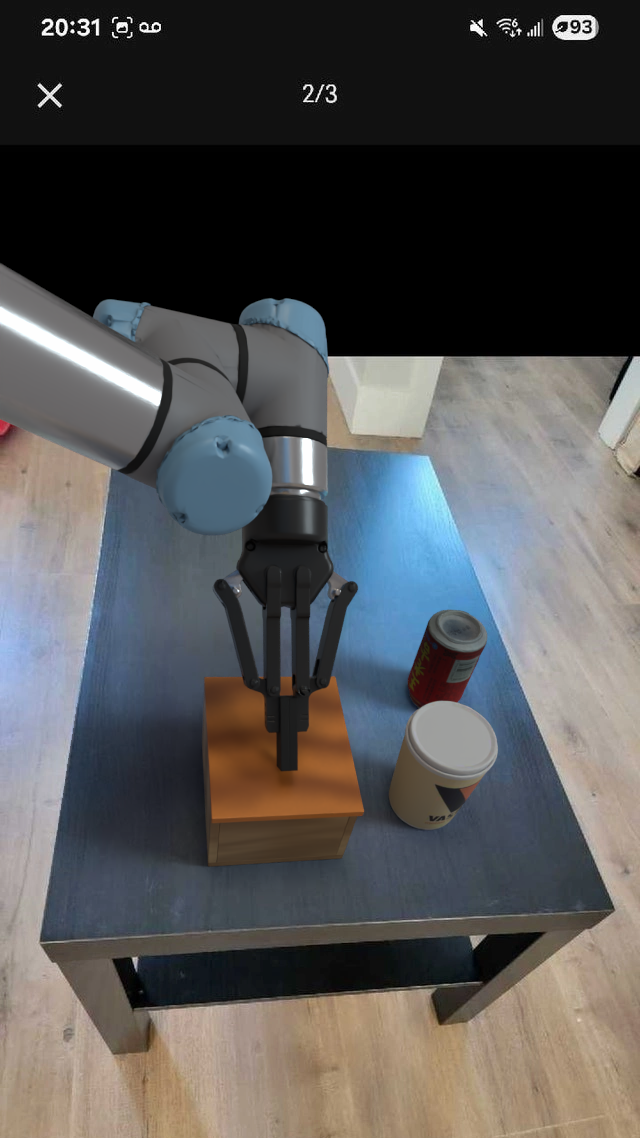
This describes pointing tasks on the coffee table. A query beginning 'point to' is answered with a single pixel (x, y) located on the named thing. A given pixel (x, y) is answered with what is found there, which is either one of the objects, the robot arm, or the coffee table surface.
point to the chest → (271, 834)
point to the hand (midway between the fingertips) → (287, 768)
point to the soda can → (446, 657)
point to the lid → (249, 758)
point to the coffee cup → (440, 763)
